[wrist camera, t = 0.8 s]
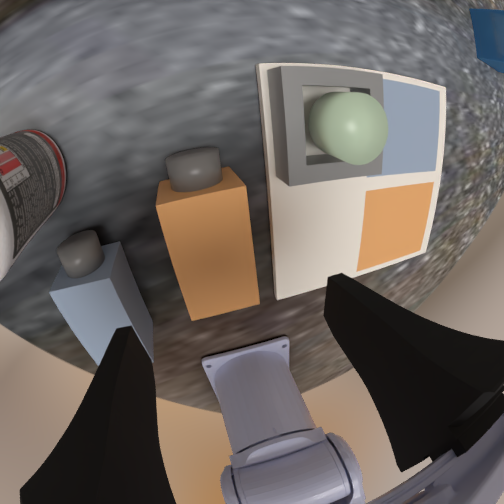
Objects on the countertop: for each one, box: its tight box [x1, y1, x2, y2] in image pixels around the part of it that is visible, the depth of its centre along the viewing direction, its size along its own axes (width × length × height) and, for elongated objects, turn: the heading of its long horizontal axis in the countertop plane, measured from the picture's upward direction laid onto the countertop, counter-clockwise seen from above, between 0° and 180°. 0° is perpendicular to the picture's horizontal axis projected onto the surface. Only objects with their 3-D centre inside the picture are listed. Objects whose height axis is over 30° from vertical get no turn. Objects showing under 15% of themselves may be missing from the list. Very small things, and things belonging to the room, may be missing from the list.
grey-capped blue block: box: [49, 230, 154, 366], centre depth 15 cm, size 8×4×4 cm, turn 5°
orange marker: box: [156, 147, 260, 321], centre depth 15 cm, size 8×4×4 cm, turn 6°
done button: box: [308, 92, 388, 165], centre depth 12 cm, size 4×4×2 cm
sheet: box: [256, 63, 446, 300], centre depth 18 cm, size 16×16×1 cm
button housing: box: [267, 66, 384, 187], centre depth 13 cm, size 6×6×2 cm
